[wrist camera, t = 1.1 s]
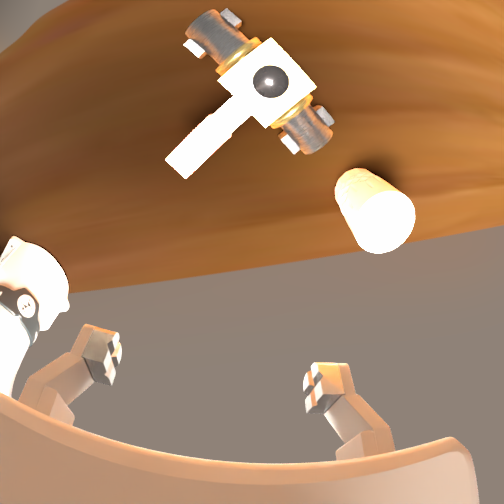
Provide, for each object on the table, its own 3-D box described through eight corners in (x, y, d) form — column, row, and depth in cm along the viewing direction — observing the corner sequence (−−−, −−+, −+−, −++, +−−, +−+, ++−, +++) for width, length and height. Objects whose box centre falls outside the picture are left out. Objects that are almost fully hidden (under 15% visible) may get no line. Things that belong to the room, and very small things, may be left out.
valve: (332, 122, 33) (355, 133, 26) (292, 153, 35) (305, 173, 29) (224, 9, 24) (219, -10, 18) (182, 45, 27) (166, 35, 20)
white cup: (390, 181, 37) (426, 212, 29) (361, 223, 41) (388, 262, 32) (349, 153, 35) (381, 178, 27) (319, 200, 39) (340, 237, 30)
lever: (270, 59, 22) (272, 58, 20) (293, 84, 23) (296, 84, 22) (167, 154, 26) (163, 158, 25) (190, 175, 28) (187, 180, 27)
